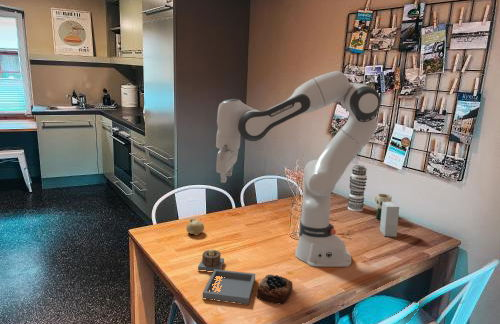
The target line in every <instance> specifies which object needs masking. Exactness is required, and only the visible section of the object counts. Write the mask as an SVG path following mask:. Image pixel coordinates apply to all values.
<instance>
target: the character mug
mask: <svg viewBox="0 0 500 324" xmlns="http://www.w3.org/2000/svg"><path fill="white" fill-rule="evenodd" d="M392 198H393V197H392V195H391V194H387V193H378V194H377V195H376V196H375V199H374V202H375V203H376V204H375V205H376V207H377V211H376V213H375V219H378V220H380V221H381V211H382V202H393V201H392Z"/></svg>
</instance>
